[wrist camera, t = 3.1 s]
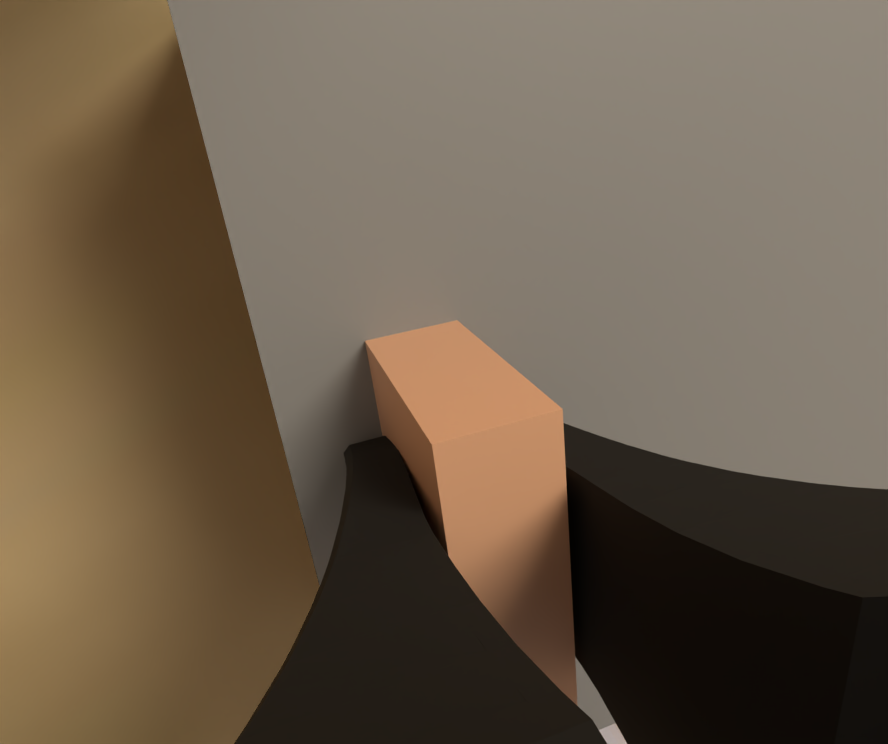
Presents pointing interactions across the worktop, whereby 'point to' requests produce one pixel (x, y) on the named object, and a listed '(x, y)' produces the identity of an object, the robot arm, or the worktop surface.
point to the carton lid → (553, 252)
